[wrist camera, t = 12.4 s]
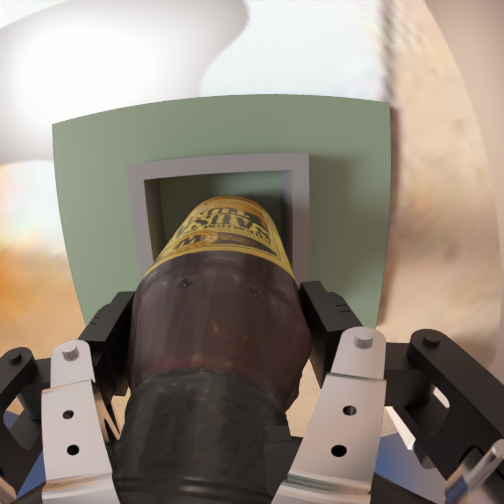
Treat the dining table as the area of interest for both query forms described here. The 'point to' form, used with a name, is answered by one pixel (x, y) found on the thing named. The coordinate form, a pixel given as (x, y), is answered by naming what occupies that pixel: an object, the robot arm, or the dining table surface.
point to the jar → (409, 438)
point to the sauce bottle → (211, 360)
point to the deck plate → (228, 186)
